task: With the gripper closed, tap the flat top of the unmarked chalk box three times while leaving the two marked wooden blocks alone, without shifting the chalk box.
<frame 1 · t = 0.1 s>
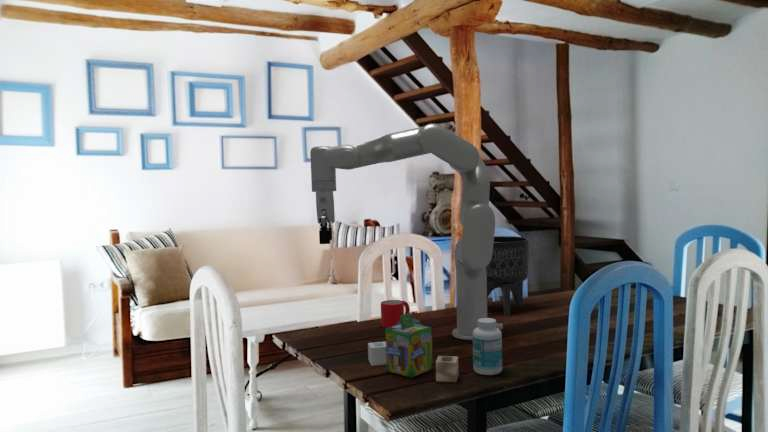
hand: (326, 242, 185), 31 cm above the table, fingers open, 9 cm apart
marked block white: (378, 362, 165), on the table
chalk box: (409, 371, 157), on the table
planter: (503, 310, 221), on the table
pill bottle: (487, 372, 155), on the table
stone: (408, 349, 177), on the table
marked block beech: (447, 378, 150), on the table
mug: (396, 324, 206), on the table
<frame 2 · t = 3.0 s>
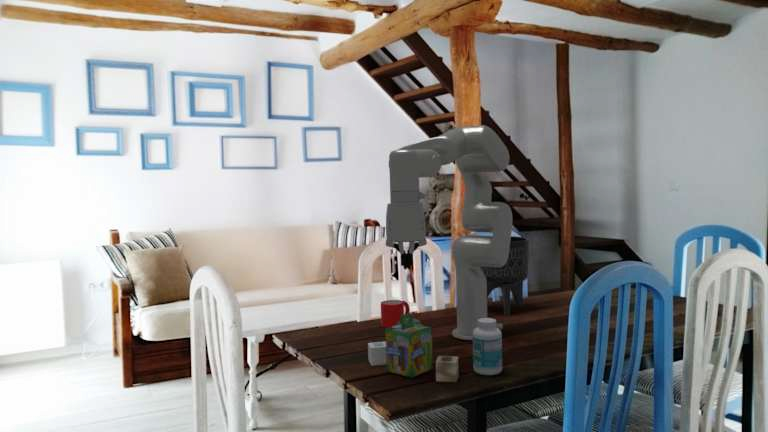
hand: (406, 268, 155), 27 cm above the table, fingers closed
nothing on the table moved.
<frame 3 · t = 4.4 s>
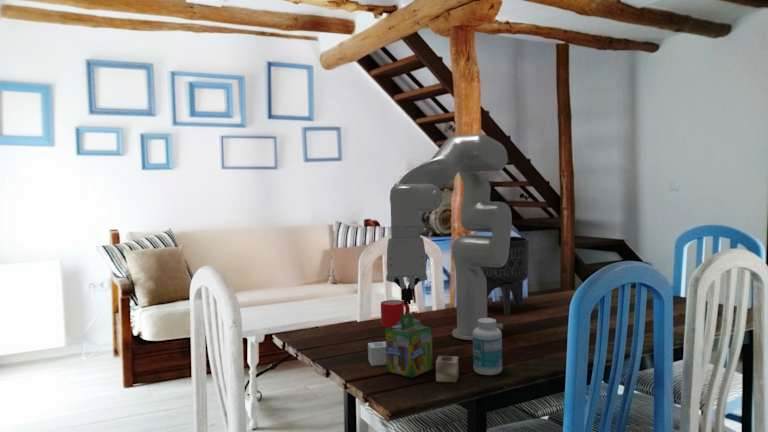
hand: (407, 303, 156), 18 cm above the table, fingers closed
nothing on the table moved.
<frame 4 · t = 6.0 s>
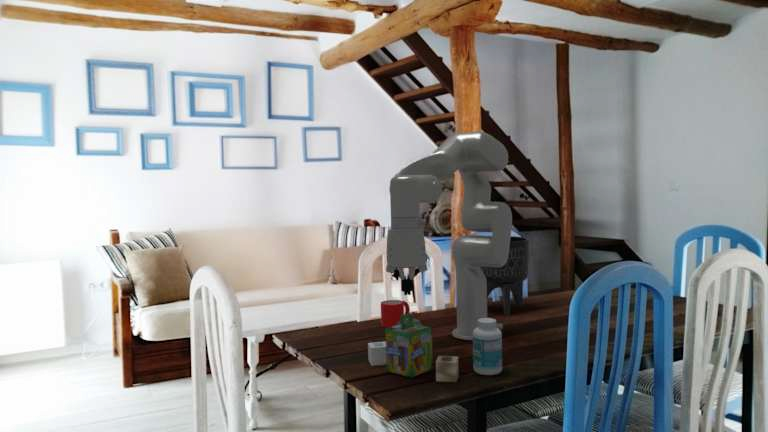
hand: (407, 294, 155), 20 cm above the table, fingers closed
nothing on the table moved.
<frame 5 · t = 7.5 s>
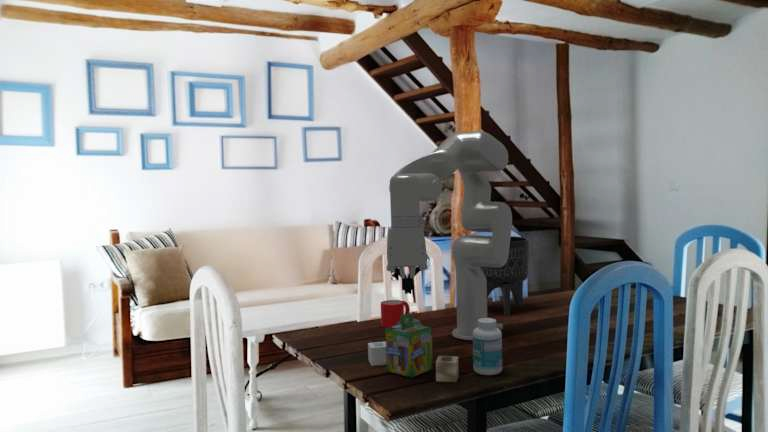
hand: (407, 292, 156), 21 cm above the table, fingers closed
nothing on the table moved.
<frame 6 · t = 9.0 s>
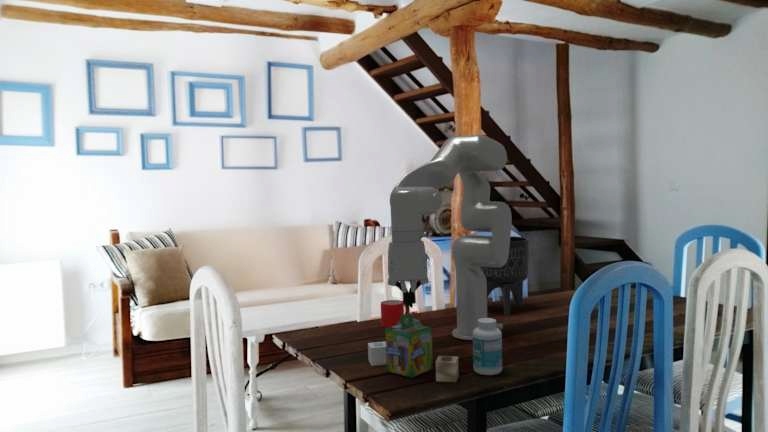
hand: (409, 306, 156), 17 cm above the table, fingers closed
nothing on the table moved.
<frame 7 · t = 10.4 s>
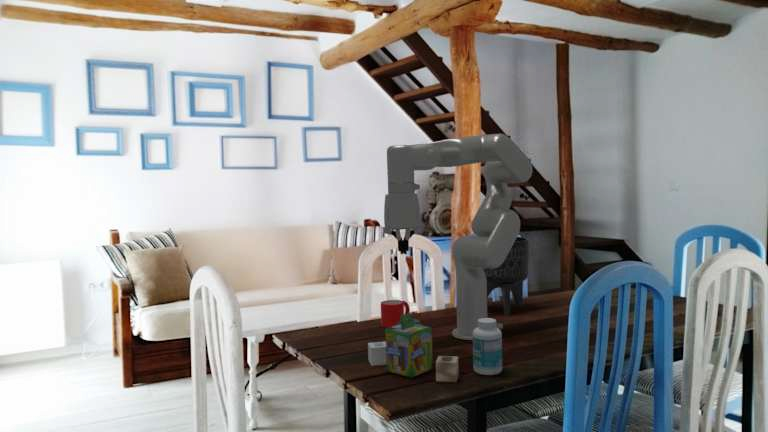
hand: (403, 253, 170), 29 cm above the table, fingers closed
nothing on the table moved.
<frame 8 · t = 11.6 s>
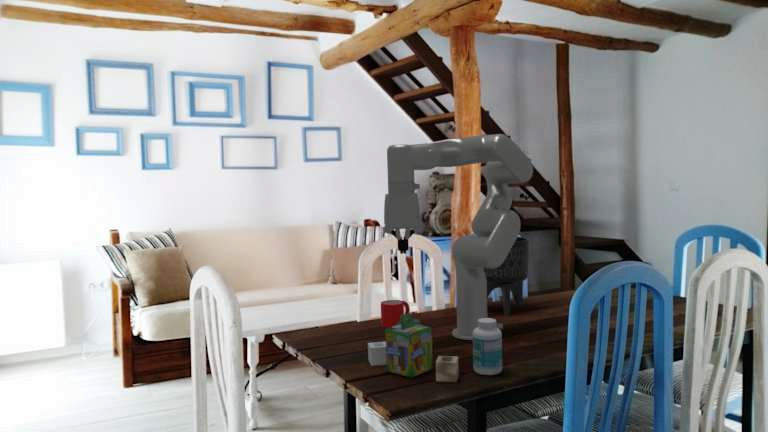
hand: (403, 253, 170), 29 cm above the table, fingers closed
nothing on the table moved.
at the end: chalk box moved 0.3 cm from its start; chalk box tilted 0°; marked block white moved 0.1 cm from its start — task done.
